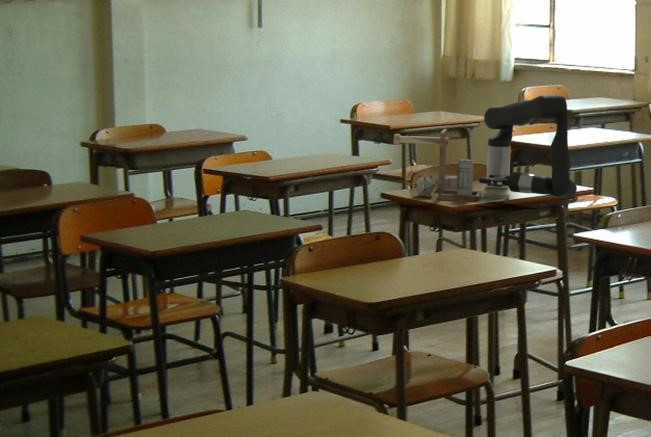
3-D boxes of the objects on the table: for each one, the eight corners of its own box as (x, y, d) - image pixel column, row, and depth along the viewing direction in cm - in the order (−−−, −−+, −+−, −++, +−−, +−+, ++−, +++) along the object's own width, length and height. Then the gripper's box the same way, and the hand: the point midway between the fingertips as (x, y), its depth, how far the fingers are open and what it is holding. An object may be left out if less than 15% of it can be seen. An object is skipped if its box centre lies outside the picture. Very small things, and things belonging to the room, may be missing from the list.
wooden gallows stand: (441, 194, 483) (443, 128, 479) (480, 196, 481) (483, 130, 476) (438, 199, 471) (440, 132, 466) (478, 201, 468) (481, 134, 463)
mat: (484, 194, 485) (484, 193, 485) (509, 195, 483) (509, 194, 483) (482, 198, 475) (482, 197, 475) (508, 199, 473) (508, 198, 473)
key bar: (395, 143, 479) (395, 133, 478) (448, 145, 475) (449, 136, 475) (393, 144, 475) (393, 135, 474) (447, 146, 471) (448, 137, 470)
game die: (427, 205, 481) (441, 184, 482) (427, 200, 472) (441, 179, 473) (408, 192, 482) (422, 172, 483) (407, 188, 474) (422, 167, 475)
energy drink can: (475, 198, 476) (476, 160, 473) (466, 200, 471) (467, 161, 469) (462, 196, 480) (464, 158, 477) (453, 198, 475) (454, 159, 472)
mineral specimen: (456, 188, 501) (456, 173, 500) (465, 190, 495) (466, 175, 494) (429, 189, 496) (430, 174, 495) (438, 192, 489) (439, 176, 488)
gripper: (531, 171, 466) (492, 167, 475) (516, 175, 454) (476, 171, 463) (530, 190, 467) (492, 186, 476) (515, 195, 456) (475, 190, 464)
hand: (484, 178), depth 469 cm, fingers open, 8 cm apart
